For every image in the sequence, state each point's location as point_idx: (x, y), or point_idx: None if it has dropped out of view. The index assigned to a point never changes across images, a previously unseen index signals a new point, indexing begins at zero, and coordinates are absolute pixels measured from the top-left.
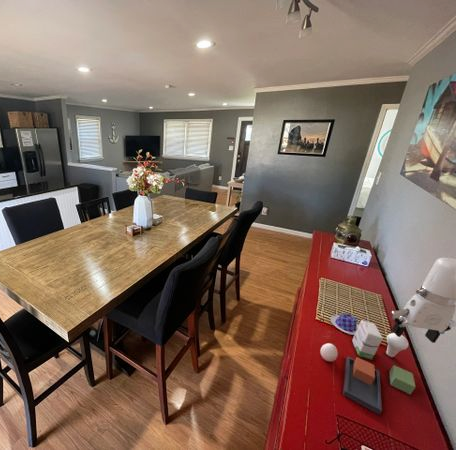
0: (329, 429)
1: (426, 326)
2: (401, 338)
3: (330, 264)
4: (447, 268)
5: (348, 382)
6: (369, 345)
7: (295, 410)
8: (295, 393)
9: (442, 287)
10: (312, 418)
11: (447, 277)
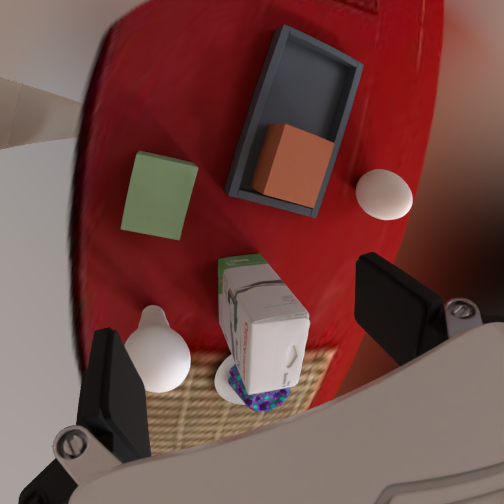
0: None
1: (394, 423)
2: (157, 369)
3: None
4: None
5: (347, 97)
6: (266, 284)
7: (437, 19)
8: (437, 54)
9: None
10: (415, 5)
11: None
